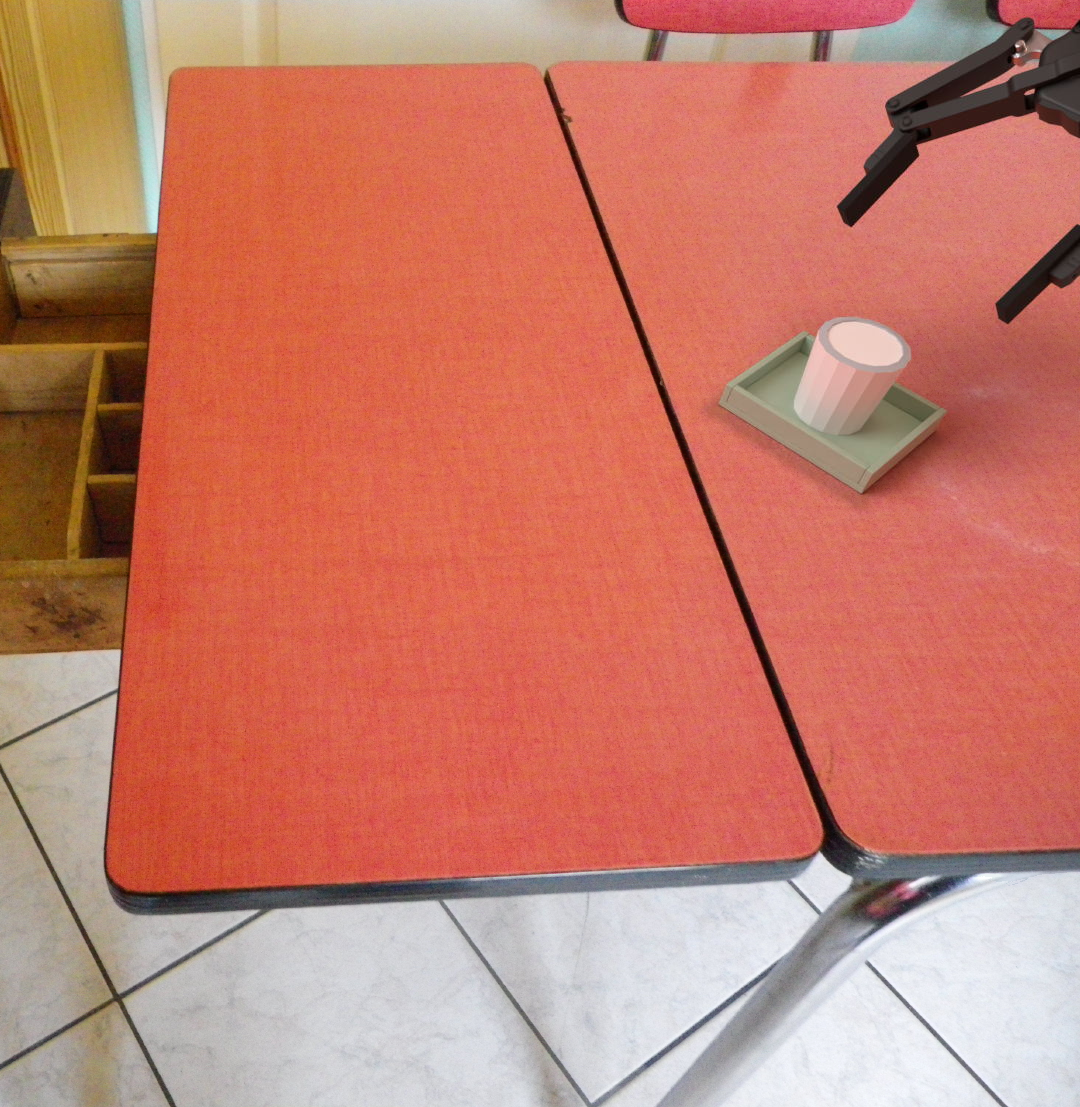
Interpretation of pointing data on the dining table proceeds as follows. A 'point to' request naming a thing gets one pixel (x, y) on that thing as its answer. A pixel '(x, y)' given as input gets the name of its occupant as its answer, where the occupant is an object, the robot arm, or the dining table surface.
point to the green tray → (846, 457)
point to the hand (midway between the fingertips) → (918, 263)
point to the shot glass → (849, 374)
